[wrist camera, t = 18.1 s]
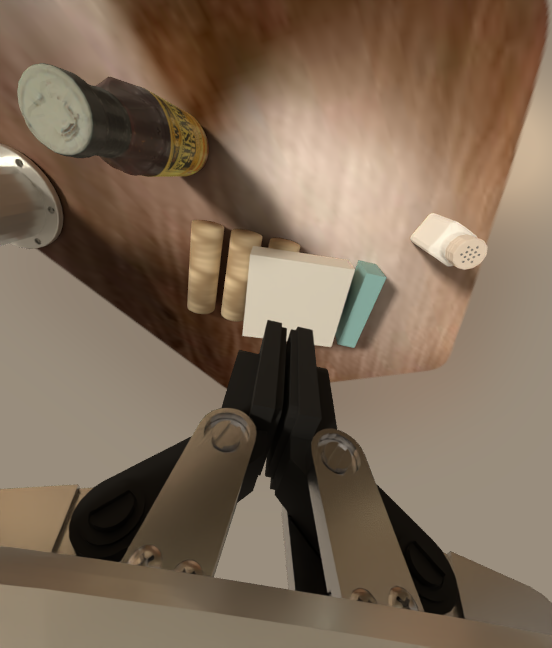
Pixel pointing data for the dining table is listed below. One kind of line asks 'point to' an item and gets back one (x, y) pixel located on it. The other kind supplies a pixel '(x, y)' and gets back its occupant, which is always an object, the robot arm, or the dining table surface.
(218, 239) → the roller track
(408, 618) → the robot arm
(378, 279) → the block
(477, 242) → the pepper shaker
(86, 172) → the dining table surface
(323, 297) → the slab
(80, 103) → the sauce bottle
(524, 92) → the dining table surface
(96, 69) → the dining table surface
